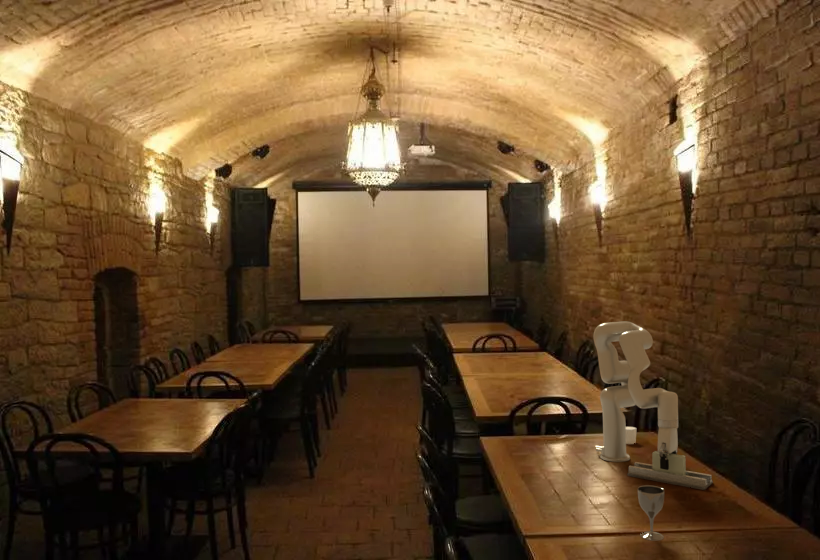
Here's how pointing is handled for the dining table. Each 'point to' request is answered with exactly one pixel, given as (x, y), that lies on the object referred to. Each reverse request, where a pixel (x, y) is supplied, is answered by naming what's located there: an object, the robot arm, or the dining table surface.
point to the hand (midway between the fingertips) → (668, 466)
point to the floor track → (671, 476)
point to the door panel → (670, 463)
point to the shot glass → (630, 435)
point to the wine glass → (651, 507)
